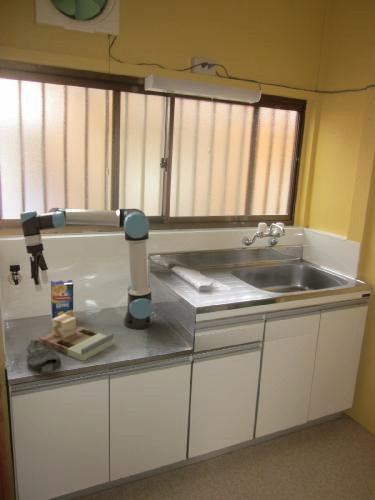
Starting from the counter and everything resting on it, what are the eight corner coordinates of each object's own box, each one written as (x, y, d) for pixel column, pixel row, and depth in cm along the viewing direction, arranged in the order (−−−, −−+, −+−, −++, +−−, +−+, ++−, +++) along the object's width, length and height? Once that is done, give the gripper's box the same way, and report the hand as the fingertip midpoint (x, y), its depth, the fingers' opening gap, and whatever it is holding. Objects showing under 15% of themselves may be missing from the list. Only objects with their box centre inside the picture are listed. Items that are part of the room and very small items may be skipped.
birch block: (52, 334, 206) (52, 318, 204) (64, 328, 213) (64, 313, 211) (63, 338, 202) (63, 323, 200) (75, 332, 209) (76, 317, 207)
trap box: (39, 343, 202) (39, 337, 201) (71, 328, 220) (71, 323, 219) (67, 354, 193) (67, 348, 192) (98, 338, 211) (98, 333, 210)
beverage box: (73, 322, 228) (73, 284, 222) (52, 324, 224) (51, 285, 218) (72, 317, 234) (72, 280, 229) (51, 319, 230) (50, 281, 224)
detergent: (64, 370, 180) (48, 345, 200) (63, 356, 178) (47, 331, 198) (33, 380, 173) (19, 353, 193) (31, 365, 171) (18, 339, 191)
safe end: (67, 354, 193) (67, 343, 192) (98, 338, 211) (98, 328, 210) (82, 361, 189) (83, 349, 187) (113, 344, 206) (113, 333, 205)
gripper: (33, 240, 209) (41, 281, 213) (18, 250, 185) (27, 295, 189) (48, 238, 210) (56, 279, 214) (35, 247, 185) (44, 293, 189)
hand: (42, 287), depth 201 cm, fingers open, 13 cm apart
